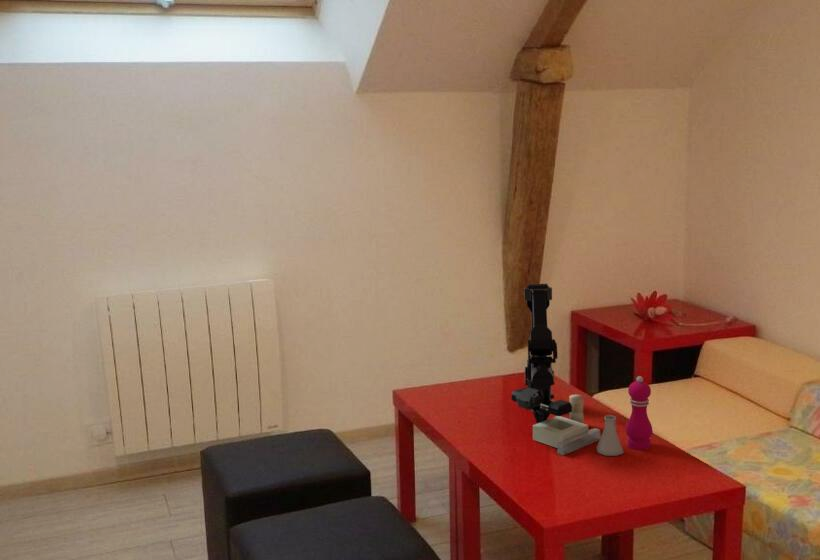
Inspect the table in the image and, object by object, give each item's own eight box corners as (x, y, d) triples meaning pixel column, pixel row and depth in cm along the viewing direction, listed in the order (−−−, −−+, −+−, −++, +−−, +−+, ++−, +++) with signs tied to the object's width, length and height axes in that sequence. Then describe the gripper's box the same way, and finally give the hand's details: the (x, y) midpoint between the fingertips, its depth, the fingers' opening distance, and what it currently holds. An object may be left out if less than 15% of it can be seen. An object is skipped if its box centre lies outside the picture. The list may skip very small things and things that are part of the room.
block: (532, 439, 253) (532, 425, 252) (558, 429, 259) (558, 415, 259) (562, 450, 244) (562, 435, 243) (588, 439, 251) (588, 425, 250)
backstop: (557, 453, 243) (557, 443, 242) (594, 437, 253) (594, 427, 252) (563, 455, 241) (563, 445, 240) (600, 439, 251) (600, 429, 251)
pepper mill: (653, 451, 242) (654, 380, 238) (625, 450, 243) (626, 380, 239) (651, 441, 249) (652, 372, 245) (624, 440, 250) (625, 372, 246)
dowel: (566, 425, 263) (566, 396, 261) (575, 422, 265) (575, 393, 264) (577, 429, 260) (577, 399, 258) (586, 425, 262) (586, 396, 260)
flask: (591, 449, 245) (591, 414, 243) (614, 445, 247) (615, 411, 245) (604, 458, 238) (604, 423, 236) (628, 454, 240) (628, 419, 238)
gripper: (498, 376, 256) (498, 427, 259) (547, 392, 242) (546, 446, 245) (524, 368, 263) (524, 418, 266) (573, 383, 249) (572, 435, 252)
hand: (540, 429), depth 257 cm, fingers closed
